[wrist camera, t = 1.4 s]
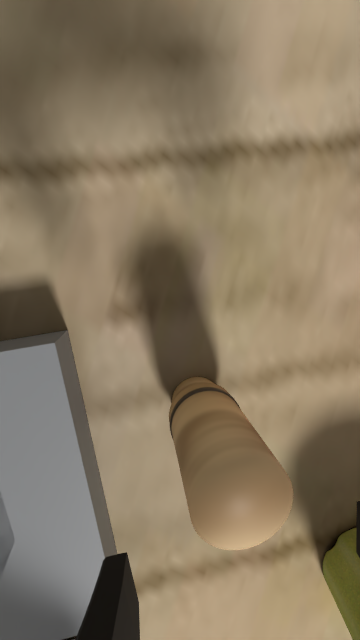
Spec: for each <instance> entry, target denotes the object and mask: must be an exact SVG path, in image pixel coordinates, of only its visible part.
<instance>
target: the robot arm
mask: <svg viewBox="0 0 360 640" xmlns="http://www.w3.org/2000/svg"><path fill="white" fill-rule="evenodd" d="M356 553H357V554H358V556H359V558H360V501H358V502H357V531H356ZM72 640H140V627H139V601H138V597H137V593H136V589H135V585H134V580H133V576H132V572H131V568H130V564H129V559H128V555H127V552H126V553H121V554H117V555H112V556H108V557H106V558H105V559H104V560H103V563H102V566H101V569H100V572H99V576H98V579H97V582H96V585H95V588H94V591H93V594H92V596H91V599H90V602H89V605H88V608H87V610H86V613H85V616H84V619H83V621H82V624H81V626H80V629H79V631H78V634H77V636H76V639H72Z"/></svg>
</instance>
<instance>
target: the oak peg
mask: <svg viewBox="0 0 360 640" xmlns="http://www.w3.org/2000/svg"><path fill="white" fill-rule="evenodd" d="M169 422H170V431H171V435H172V438H173V441H174V445H175V449H176V454H177V458H178V463H179V467H180V472H181V476H182V481H183V485H184V490H185V495H186V499H187V504H188V508H189V513H190V517H191V521H192V524H193V527H194V529H195V531H196V532H197V534H198V535H199V536H200V537H201V538H202V539H203V540H204V541H205V542H207V543H209V544H210V545H212V546H214V547H217V548H220V549H225V550H242V549H247V548H250V547H253V546H256V545H258V544H261V543H262V542H264V541H266V540H267V539H269V538H270V537H271V536H273V535H274V534H275V533H276V532H277V531H278V530H279V529H280V528H281V527H282V525H283V524H284V522H285V521H286V519H287V517H288V516H289V513H290V511H291V507H292V503H293V487H292V483H291V480H290V478H289V476H288V474H287V473H286V472H285V470H284V469H283V467H282V466H281V465H280V463H279V462H278V460H277V459H276V458H275V456H274V455H273V454H272V452H271V451H270V449H269V448H268V447H267V445H266V444H265V443H264V441H263V440H262V438H261V437H260V436H259V434H258V433H257V431H256V430H255V429H254V427H253V426H252V425H251V423H250V422H249V420H248V419H247V418H246V416H245V415H244V414H243V412H242V411H241V409H240V407H239V405H238V404H237V402H236V401H235V400H234V398H233V397H232V396H231V395H230V394H229V393H228V392H227V391H226V390H225V389H224V388H222V387H221V386H219V385H216V384H214V383H213V382H212V381H210V380H209V379H206V378H203V377H192V378H188V379H186V380H184V381H183V382H181V383H180V384H179V385H178V386H177V388H176V389H175V391H174V393H173V396H172V405H171V407H170V412H169Z"/></svg>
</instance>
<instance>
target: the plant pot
mask: <svg viewBox="0 0 360 640" xmlns="http://www.w3.org/2000/svg"><path fill="white" fill-rule="evenodd" d="M356 531H357V528H353V529H351V530H348V531H346V532H345V533H343V534H342V535H340V536H339V537H338V540H337V543H336V545H335V546H334V547H333V548H332V549H331V550H330V551H327V552H326V554H325V557H324V560H323V574H324V578H325V580H326V582H327V585H328V587H329V589H330V591H331V593H332V595H333V598H334V600H335V602H336V604H337V606H338V608H339V611H340V613H341V615H342V617H343V619H344V621H345V624H346V626H347V628H348V630H349V632H350V634H351V637H352V639H353V640H360V558H359V556H358V554H357V553H356Z"/></svg>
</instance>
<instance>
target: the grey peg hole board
mask: <svg viewBox="0 0 360 640" xmlns="http://www.w3.org/2000/svg"><path fill="white" fill-rule="evenodd" d="M112 555H117V550H116V546H115V541H114V537H113V532H112V528H111V523H110V519H109V514H108V510H107V505H106V501H105V496H104V492H103V487H102V483H101V478H100V474H99V469H98V465H97V460H96V456H95V451H94V447H93V442H92V438H91V433H90V429H89V424H88V420H87V415H86V411H85V406H84V402H83V397H82V393H81V388H80V384H79V379H78V375H77V370H76V366H75V361H74V357H73V352H72V348H71V343H70V339H69V334H68V330H65V331H59V332H53V333H47V334H41V335H35V336H29V337H23V338H17V339H11V340H5V341H0V640H63V639H66V638H70V637H73V636H77V634H78V631H79V629H80V626H81V624H82V621H83V619H84V616H85V613H86V610H87V608H88V605H89V602H90V599H91V596H92V594H93V591H94V588H95V585H96V582H97V579H98V576H99V572H100V569H101V566H102V563H103V560H104V559H105V558H106V557H108V556H112Z"/></svg>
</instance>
